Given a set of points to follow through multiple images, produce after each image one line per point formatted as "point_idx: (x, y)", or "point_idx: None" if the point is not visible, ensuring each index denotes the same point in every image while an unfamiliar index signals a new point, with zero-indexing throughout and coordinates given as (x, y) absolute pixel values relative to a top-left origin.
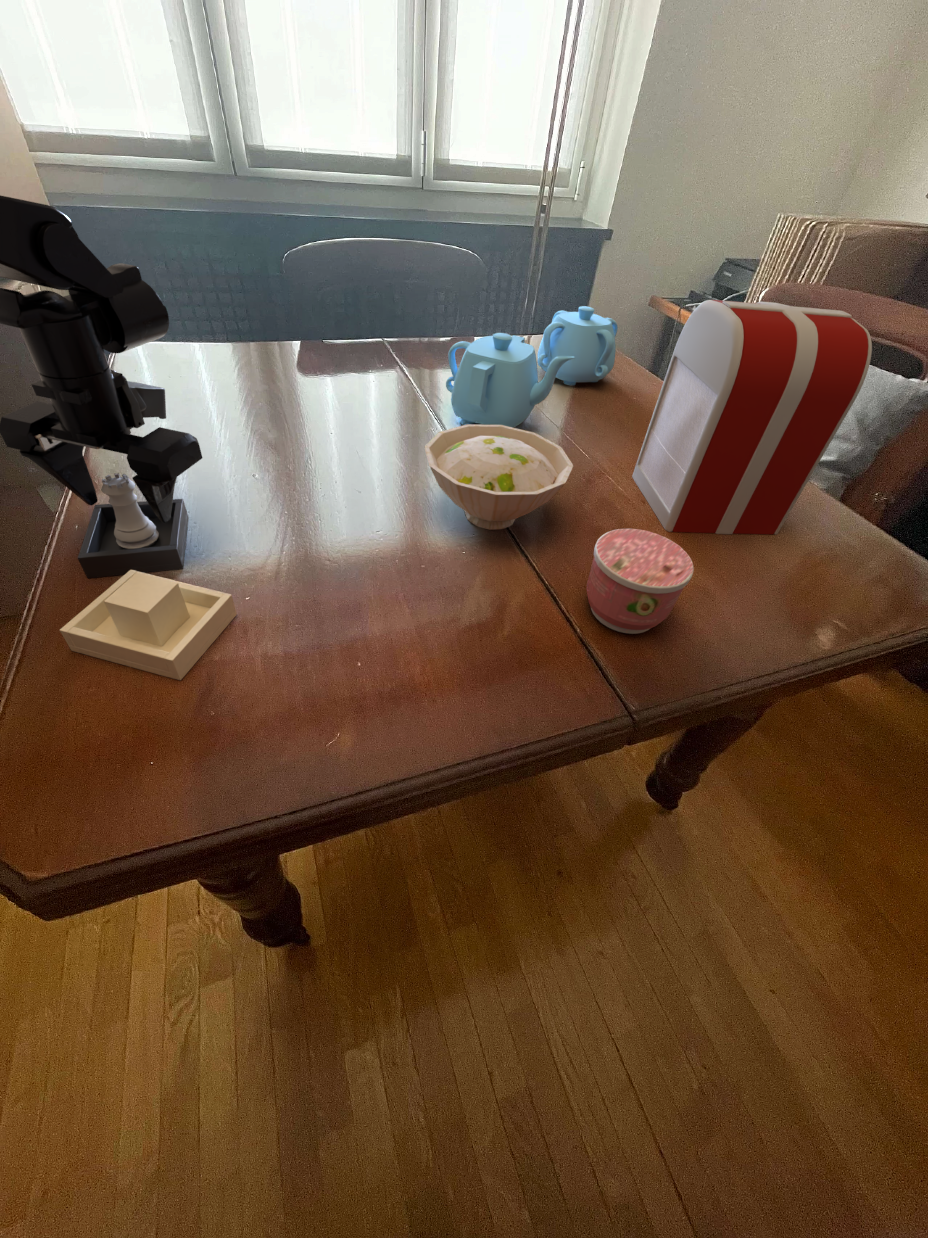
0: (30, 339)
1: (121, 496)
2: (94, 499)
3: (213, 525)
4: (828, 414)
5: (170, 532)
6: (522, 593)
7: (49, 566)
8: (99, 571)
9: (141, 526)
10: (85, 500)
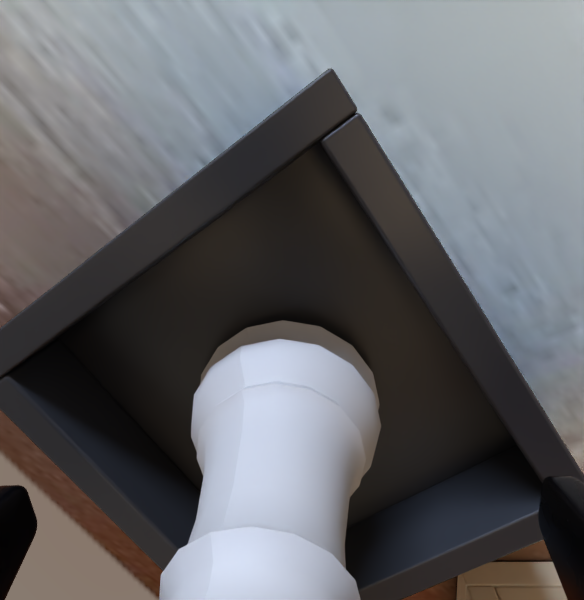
0: None
1: None
2: (13, 517)
3: (499, 89)
4: None
5: (373, 290)
6: None
7: (114, 558)
8: None
9: (357, 477)
10: (7, 583)
